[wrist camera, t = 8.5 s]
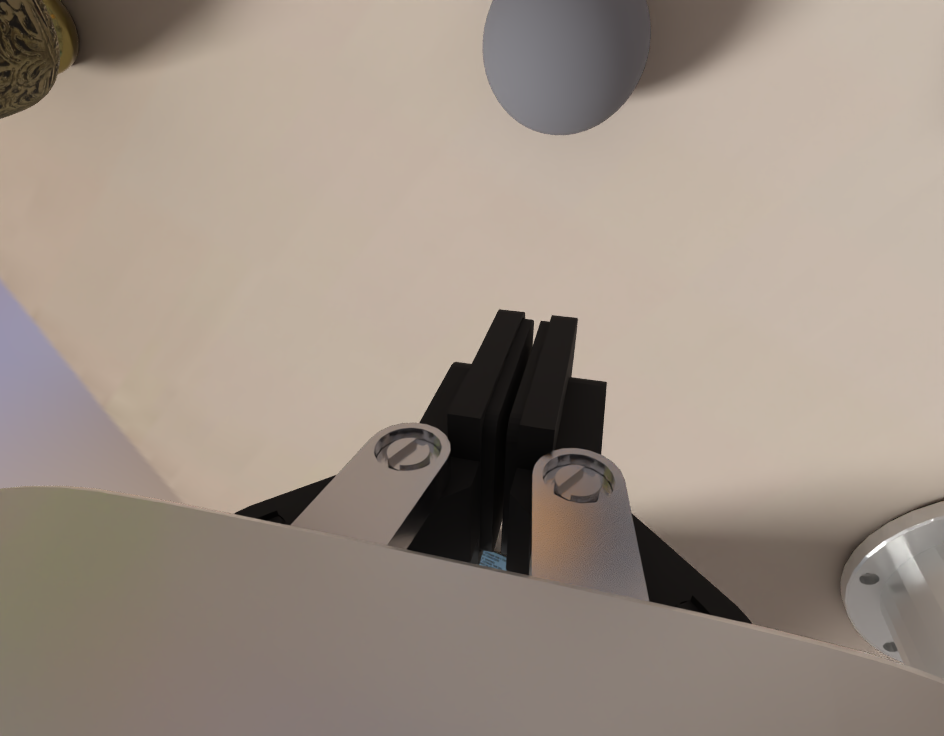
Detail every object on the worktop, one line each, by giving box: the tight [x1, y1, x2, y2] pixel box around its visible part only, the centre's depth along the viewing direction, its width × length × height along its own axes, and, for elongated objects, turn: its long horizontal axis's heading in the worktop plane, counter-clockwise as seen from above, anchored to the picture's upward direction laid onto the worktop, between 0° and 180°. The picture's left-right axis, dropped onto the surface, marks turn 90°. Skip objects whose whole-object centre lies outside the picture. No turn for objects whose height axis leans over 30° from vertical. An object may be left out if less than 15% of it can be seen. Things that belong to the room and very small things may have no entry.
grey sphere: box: [483, 0, 651, 135], centre depth 18 cm, size 6×6×6 cm
